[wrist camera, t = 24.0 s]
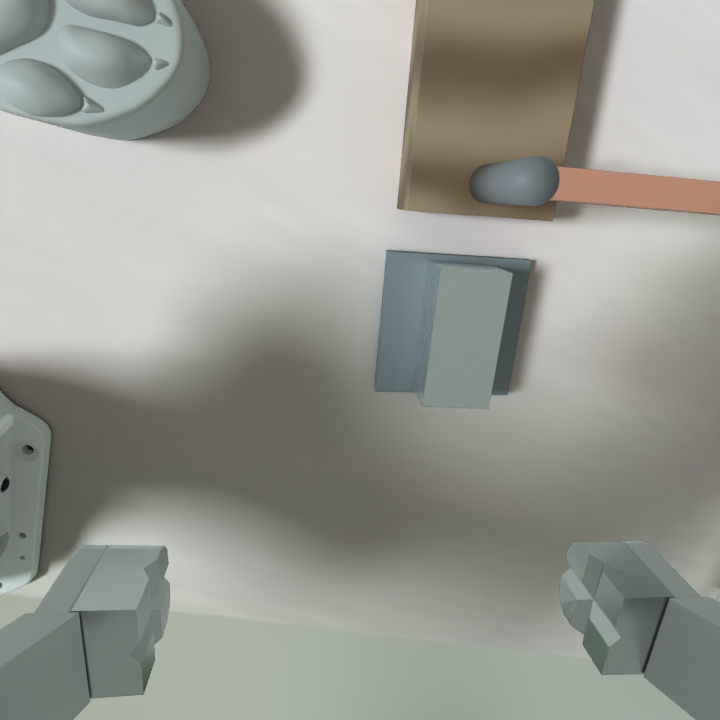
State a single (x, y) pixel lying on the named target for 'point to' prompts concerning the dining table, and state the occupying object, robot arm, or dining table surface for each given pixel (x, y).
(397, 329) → the pad
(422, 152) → the body
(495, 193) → the cam lever
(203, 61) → the paw pad
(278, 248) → the dining table surface
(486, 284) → the grey-blue rectangular block
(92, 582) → the robot arm
